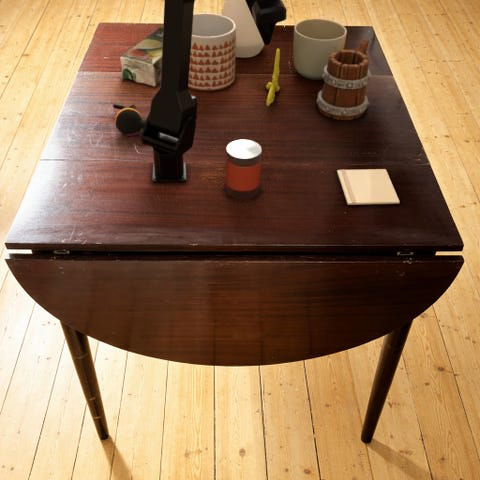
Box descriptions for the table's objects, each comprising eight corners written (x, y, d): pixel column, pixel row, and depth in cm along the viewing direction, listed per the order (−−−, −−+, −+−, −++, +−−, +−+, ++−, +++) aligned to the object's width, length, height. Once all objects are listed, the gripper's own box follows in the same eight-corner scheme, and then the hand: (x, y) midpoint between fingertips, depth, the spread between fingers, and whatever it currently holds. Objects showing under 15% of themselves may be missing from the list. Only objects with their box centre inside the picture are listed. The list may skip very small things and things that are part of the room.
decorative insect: (274, 120, 146) (271, 104, 136) (261, 119, 146) (256, 102, 136) (284, 67, 146) (282, 47, 136) (271, 66, 146) (267, 46, 136)
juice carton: (154, 89, 144) (152, 63, 139) (118, 80, 146) (115, 55, 142) (193, 56, 156) (192, 32, 152) (159, 49, 159) (157, 25, 155)
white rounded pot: (226, 35, 166) (227, -20, 155) (274, 43, 163) (277, -13, 153) (209, 56, 157) (209, -2, 147) (259, 64, 154) (262, 6, 144)
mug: (304, 112, 138) (317, 42, 129) (329, 97, 148) (343, 32, 139) (351, 127, 134) (368, 56, 125) (374, 111, 144) (391, 44, 135)
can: (260, 199, 116) (263, 158, 109) (226, 200, 115) (227, 159, 108) (257, 179, 120) (260, 138, 113) (224, 180, 119) (225, 139, 113)
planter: (348, 81, 149) (356, 36, 141) (303, 88, 146) (308, 43, 138) (325, 59, 157) (331, 15, 149) (282, 66, 154) (285, 22, 146)
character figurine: (109, 124, 136) (114, 135, 126) (113, 98, 134) (118, 107, 124) (154, 133, 140) (163, 144, 129) (159, 108, 137) (168, 117, 127)
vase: (171, 87, 145) (167, 32, 135) (188, 62, 154) (186, 9, 145) (226, 95, 143) (227, 40, 133) (240, 70, 152) (242, 16, 143)
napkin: (399, 203, 116) (399, 201, 116) (347, 204, 115) (348, 202, 115) (385, 170, 123) (386, 168, 123) (336, 171, 123) (337, 169, 122)
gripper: (313, -28, 114) (310, 50, 127) (287, -71, 124) (286, 4, 137) (255, -18, 113) (257, 59, 126) (234, -63, 123) (238, 13, 136)
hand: (261, 32), depth 131 cm, fingers open, 9 cm apart
